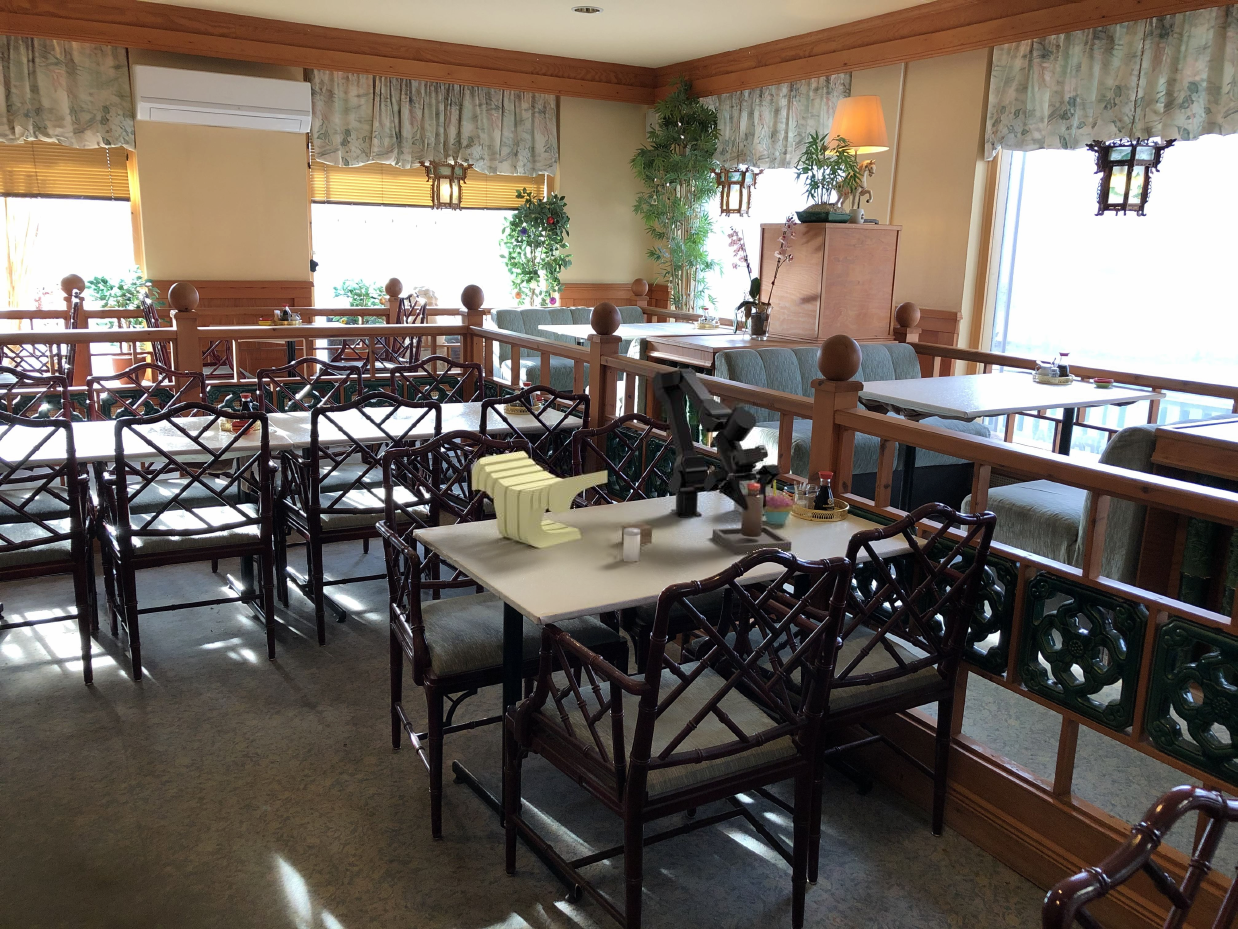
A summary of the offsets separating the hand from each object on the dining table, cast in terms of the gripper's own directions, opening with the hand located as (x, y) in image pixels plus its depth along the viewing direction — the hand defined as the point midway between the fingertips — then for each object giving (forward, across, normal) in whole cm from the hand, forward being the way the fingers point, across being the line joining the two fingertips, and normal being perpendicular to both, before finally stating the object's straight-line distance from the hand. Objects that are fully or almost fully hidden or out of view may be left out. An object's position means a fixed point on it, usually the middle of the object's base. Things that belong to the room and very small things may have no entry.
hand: (755, 508), depth 225 cm
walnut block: (-3, -24, +16) cm, 29 cm away
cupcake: (-4, +17, +17) cm, 25 cm away
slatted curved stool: (-12, -44, +25) cm, 52 cm away
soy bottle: (+4, 0, +6) cm, 7 cm away
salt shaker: (+5, -32, +8) cm, 33 cm away
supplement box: (-12, +18, +25) cm, 33 cm away
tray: (+5, 0, +7) cm, 9 cm away
